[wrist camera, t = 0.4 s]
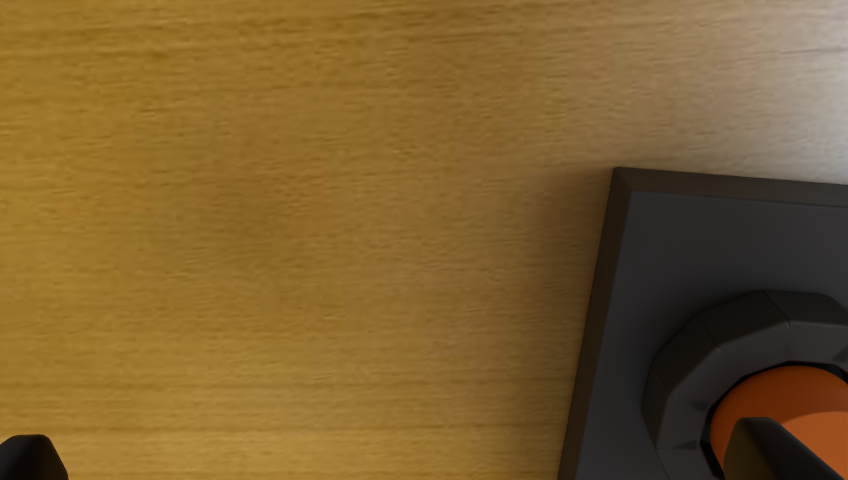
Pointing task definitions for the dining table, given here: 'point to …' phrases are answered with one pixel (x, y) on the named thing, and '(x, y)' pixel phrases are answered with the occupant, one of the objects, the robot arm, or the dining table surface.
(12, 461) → the robot arm
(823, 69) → the dining table surface
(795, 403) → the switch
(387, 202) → the dining table surface
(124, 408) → the dining table surface
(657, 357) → the switch base
